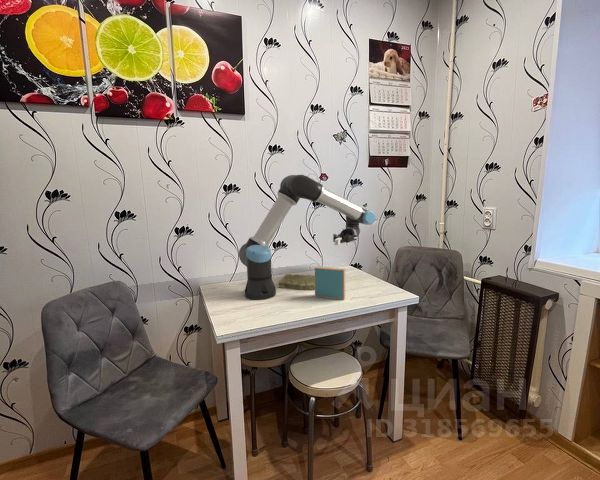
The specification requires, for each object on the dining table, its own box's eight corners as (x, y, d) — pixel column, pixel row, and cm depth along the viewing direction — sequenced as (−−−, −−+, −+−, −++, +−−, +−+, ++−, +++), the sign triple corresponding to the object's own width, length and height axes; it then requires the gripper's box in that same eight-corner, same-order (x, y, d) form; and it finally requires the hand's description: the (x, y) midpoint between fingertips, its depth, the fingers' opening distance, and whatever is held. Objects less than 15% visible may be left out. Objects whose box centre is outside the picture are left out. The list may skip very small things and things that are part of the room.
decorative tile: (285, 279, 184) (285, 273, 183) (320, 280, 180) (320, 274, 179) (276, 290, 166) (276, 283, 165) (315, 291, 162) (315, 285, 161)
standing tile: (314, 296, 153) (314, 268, 151) (316, 294, 156) (316, 266, 153) (343, 300, 148) (343, 270, 145) (345, 298, 150) (345, 269, 148)
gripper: (360, 242, 178) (350, 250, 156) (336, 241, 183) (323, 249, 161) (360, 228, 176) (350, 235, 155) (336, 227, 181) (323, 234, 160)
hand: (336, 242), depth 158 cm, fingers closed
